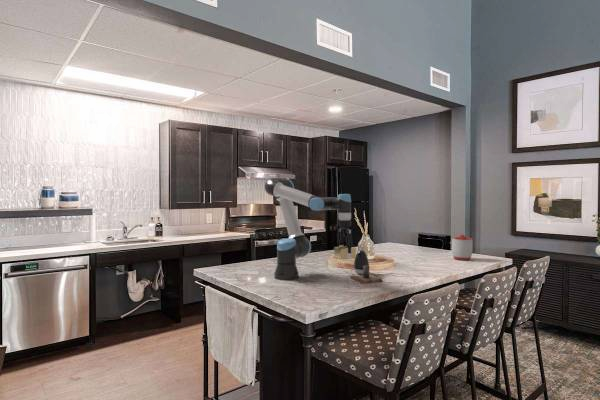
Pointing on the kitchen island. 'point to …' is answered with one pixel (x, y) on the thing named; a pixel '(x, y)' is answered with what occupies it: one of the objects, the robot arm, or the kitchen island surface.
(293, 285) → the kitchen island surface
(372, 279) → the post stand
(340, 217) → the robot arm
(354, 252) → the brass collar
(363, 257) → the black tall oval piece
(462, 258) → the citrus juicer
